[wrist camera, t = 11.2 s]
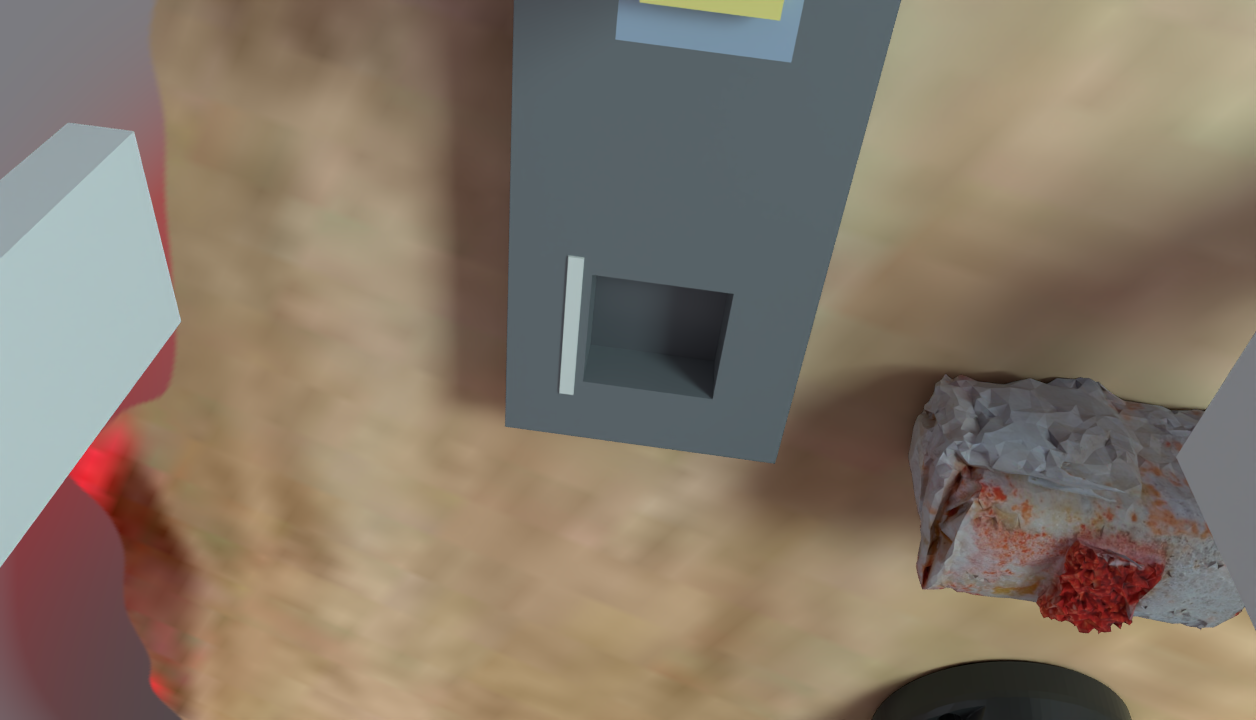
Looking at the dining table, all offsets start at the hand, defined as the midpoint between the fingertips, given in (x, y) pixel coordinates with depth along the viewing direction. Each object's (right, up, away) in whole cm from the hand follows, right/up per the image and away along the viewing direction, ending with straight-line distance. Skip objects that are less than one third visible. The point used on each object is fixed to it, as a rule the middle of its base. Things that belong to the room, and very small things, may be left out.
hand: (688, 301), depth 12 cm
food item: (+18, -4, +33) cm, 38 cm away
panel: (+1, +9, +25) cm, 26 cm away
